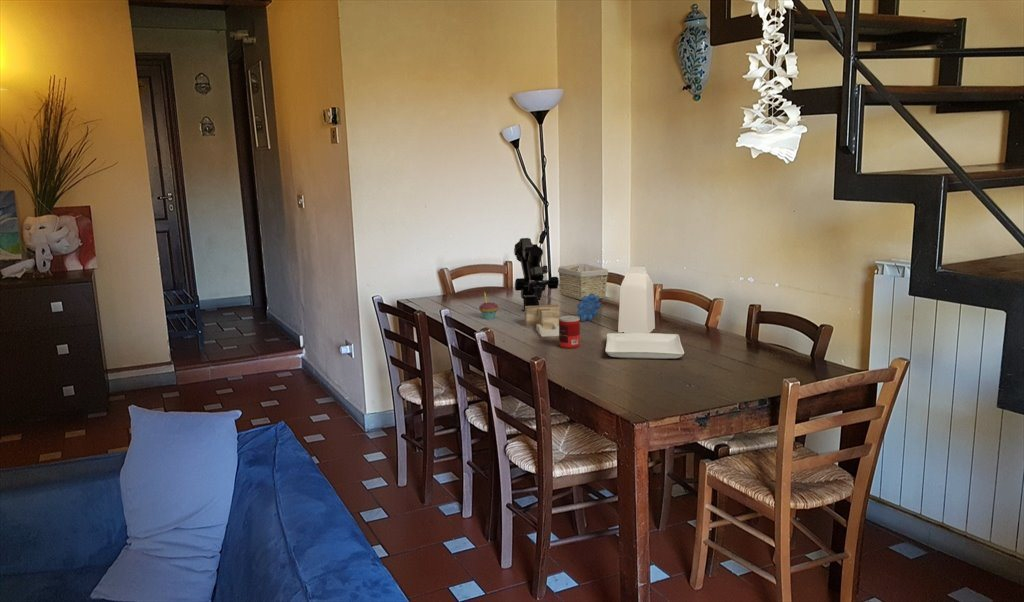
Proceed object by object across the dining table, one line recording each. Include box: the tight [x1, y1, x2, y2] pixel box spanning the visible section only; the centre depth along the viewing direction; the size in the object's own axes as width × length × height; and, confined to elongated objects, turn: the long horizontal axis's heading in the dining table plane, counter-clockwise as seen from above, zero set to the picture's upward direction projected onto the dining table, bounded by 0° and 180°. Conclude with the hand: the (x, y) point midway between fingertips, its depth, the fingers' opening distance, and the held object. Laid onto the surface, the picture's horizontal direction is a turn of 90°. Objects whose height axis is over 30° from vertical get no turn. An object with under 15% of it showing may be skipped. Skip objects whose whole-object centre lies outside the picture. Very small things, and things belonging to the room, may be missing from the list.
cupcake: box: [478, 291, 499, 320], centre depth 335 cm, size 9×8×12 cm
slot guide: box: [535, 323, 559, 337], centre depth 306 cm, size 12×8×2 cm
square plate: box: [604, 332, 685, 360], centre depth 276 cm, size 27×27×4 cm
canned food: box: [558, 315, 581, 350], centre depth 283 cm, size 8×8×11 cm
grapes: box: [576, 293, 602, 322], centre depth 325 cm, size 12×7×12 cm, turn 114°
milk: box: [617, 265, 656, 333], centre depth 305 cm, size 12×12×26 cm
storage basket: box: [557, 263, 609, 301], centre depth 380 cm, size 24×16×15 cm
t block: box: [524, 304, 561, 330], centre depth 315 cm, size 14×14×8 cm
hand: (539, 299), depth 325 cm, fingers closed
